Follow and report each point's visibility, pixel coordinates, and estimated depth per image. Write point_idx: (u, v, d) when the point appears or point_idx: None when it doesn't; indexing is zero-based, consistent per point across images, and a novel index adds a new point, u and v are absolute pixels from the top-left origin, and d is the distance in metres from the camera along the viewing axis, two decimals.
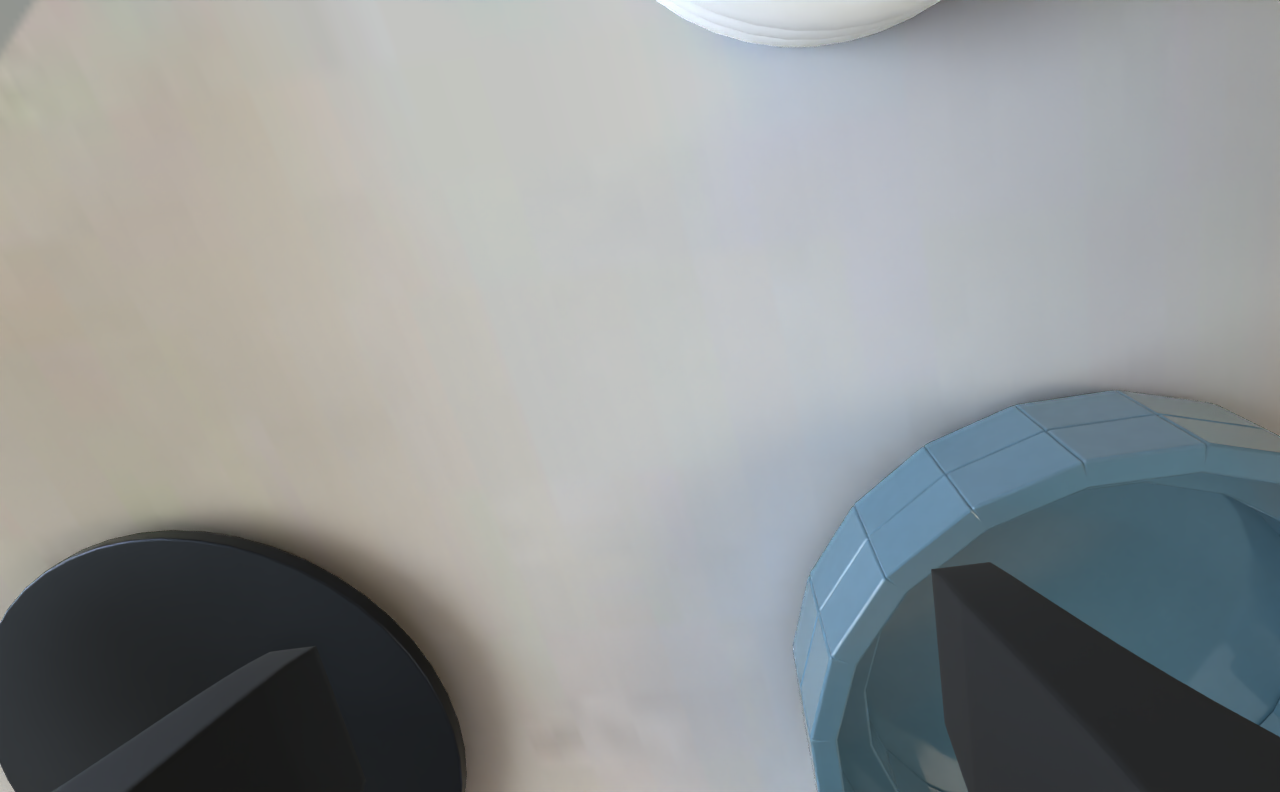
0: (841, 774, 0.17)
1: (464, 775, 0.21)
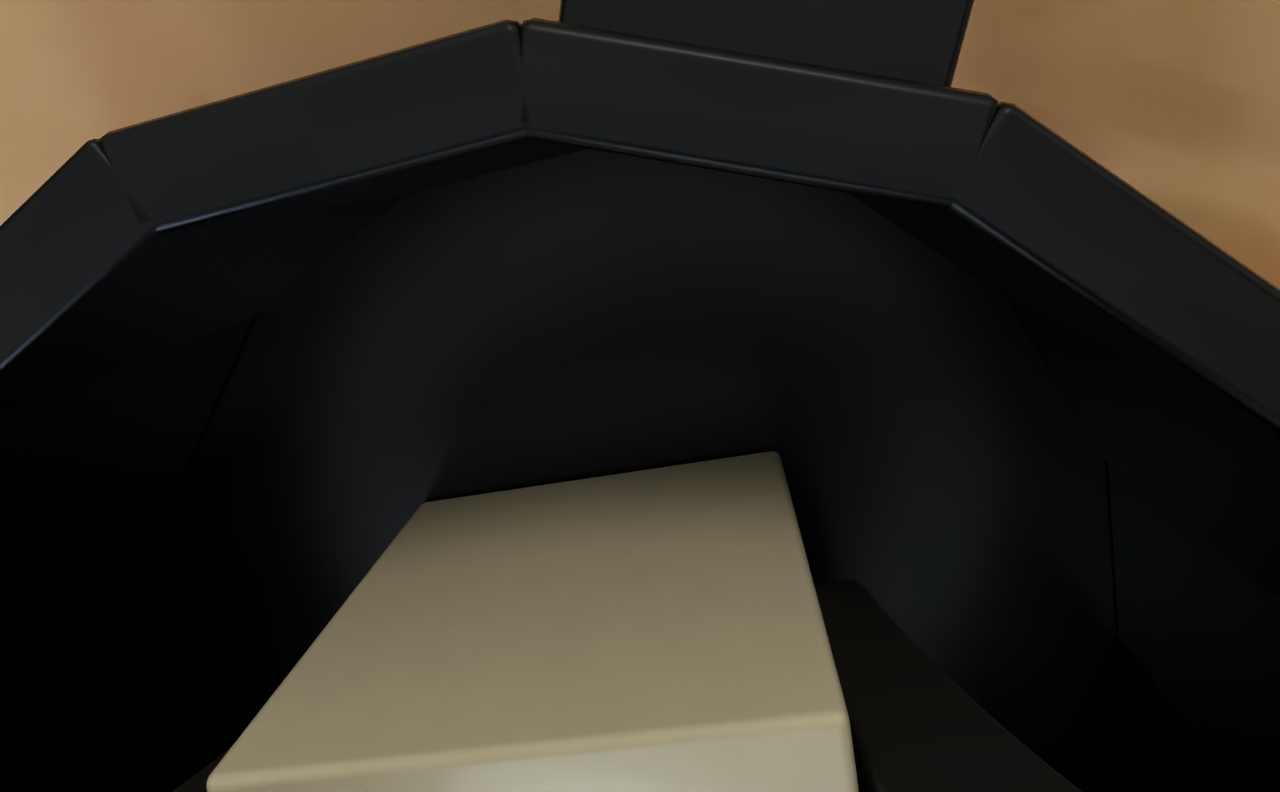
0: None
1: None
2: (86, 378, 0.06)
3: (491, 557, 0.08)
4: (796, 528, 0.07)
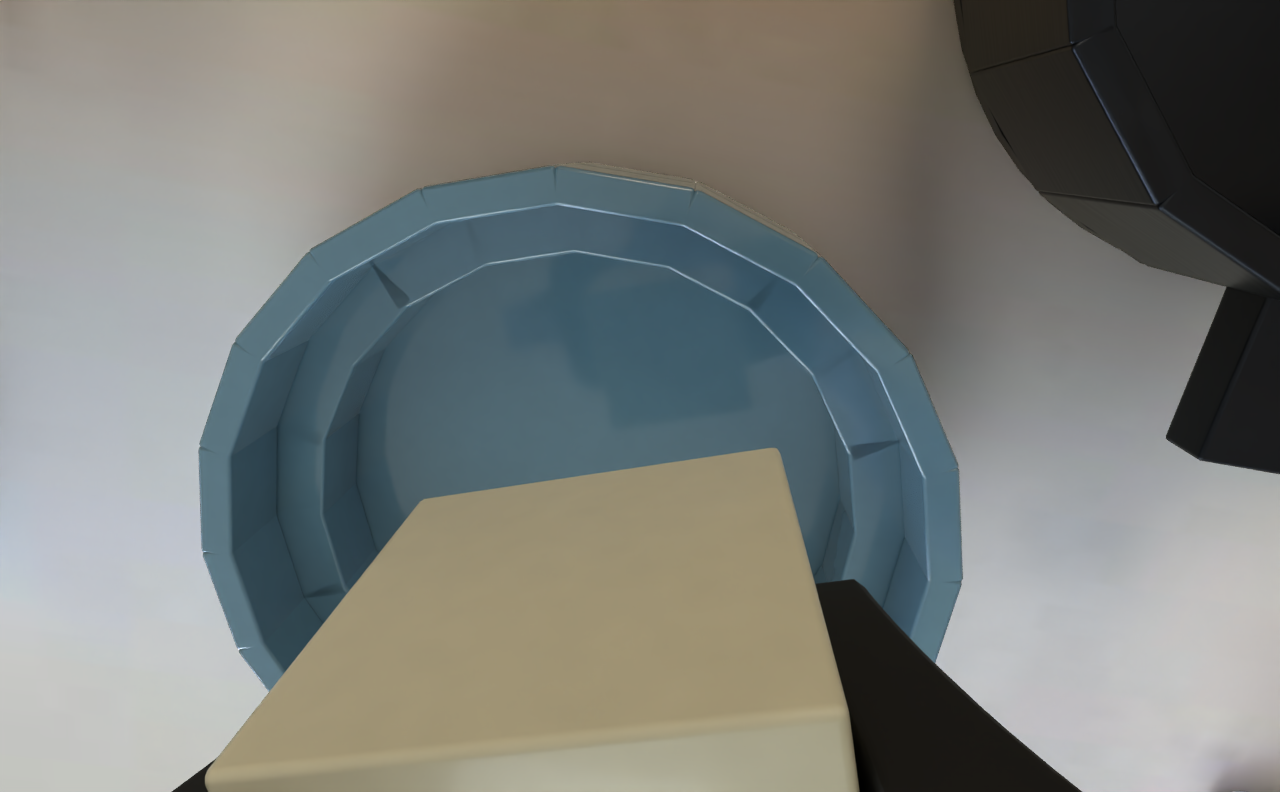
0: None
1: None
2: None
3: (491, 553, 0.08)
4: (796, 523, 0.07)
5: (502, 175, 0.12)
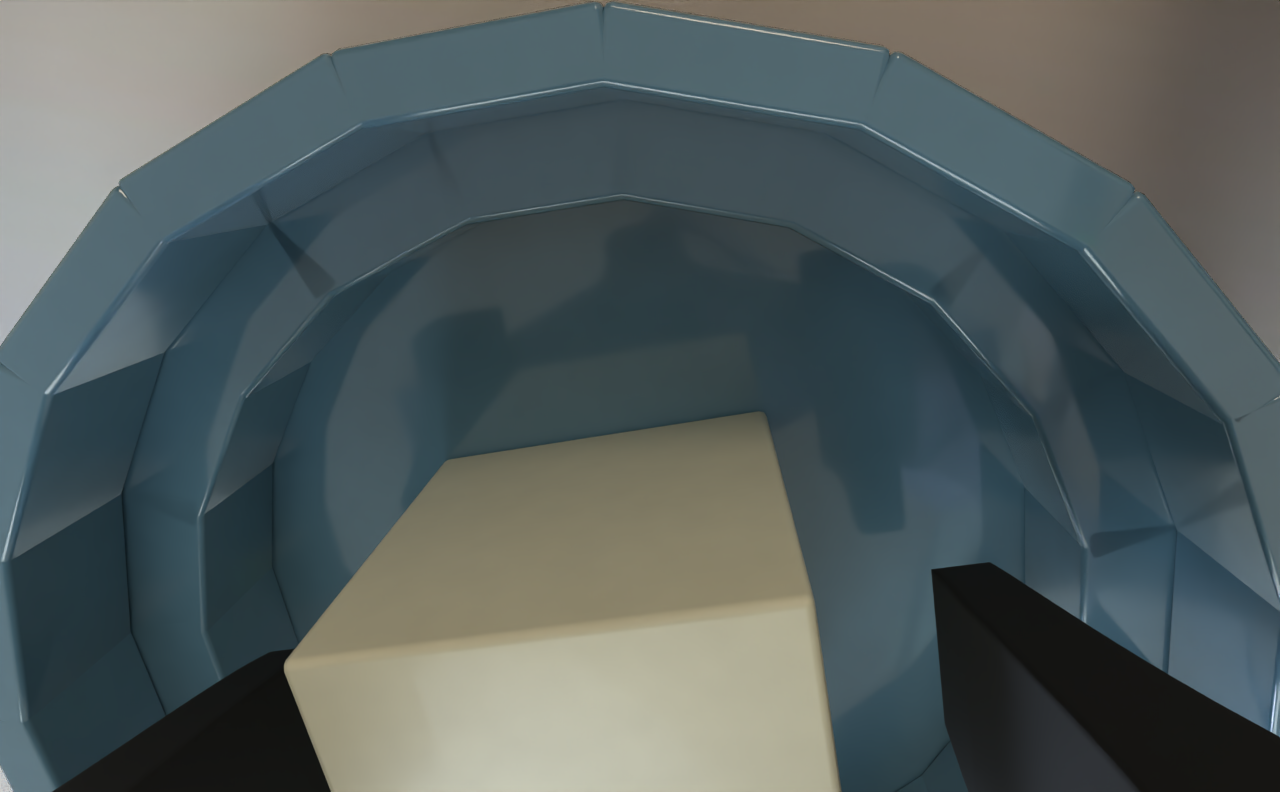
0: None
1: None
2: None
3: (513, 498, 0.09)
4: (778, 469, 0.08)
5: (494, 23, 0.06)
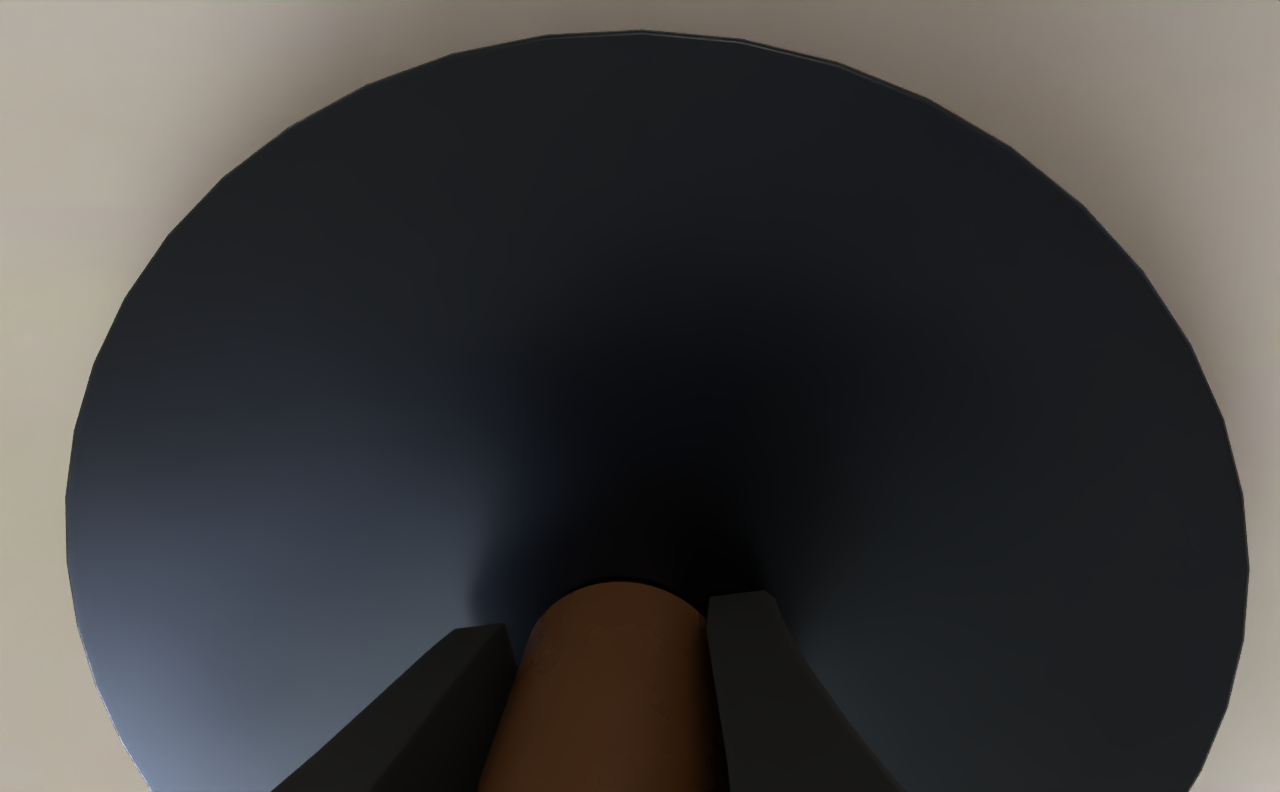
0: None
1: None
2: None
3: None
4: None
5: None
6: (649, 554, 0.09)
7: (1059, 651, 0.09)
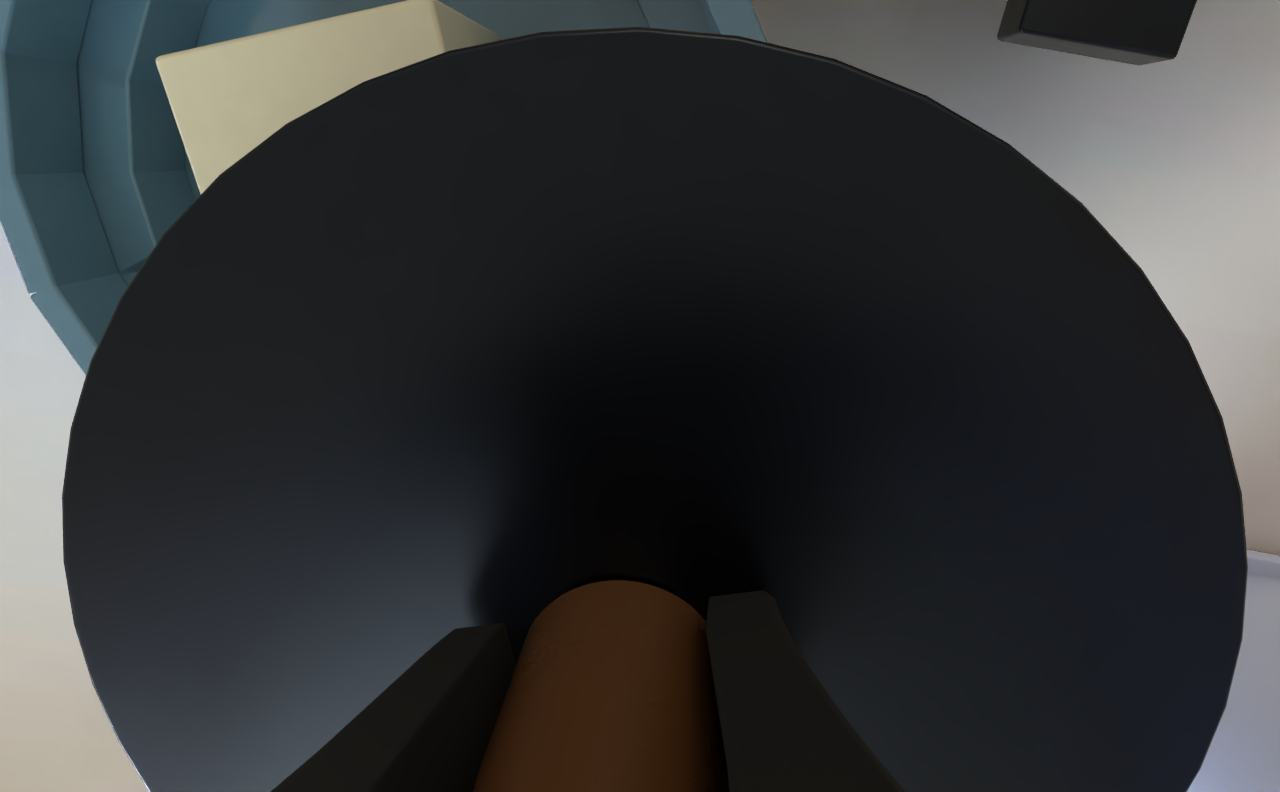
0: None
1: None
2: None
3: None
4: (477, 23, 0.13)
5: None
6: (647, 552, 0.09)
7: (1056, 650, 0.09)
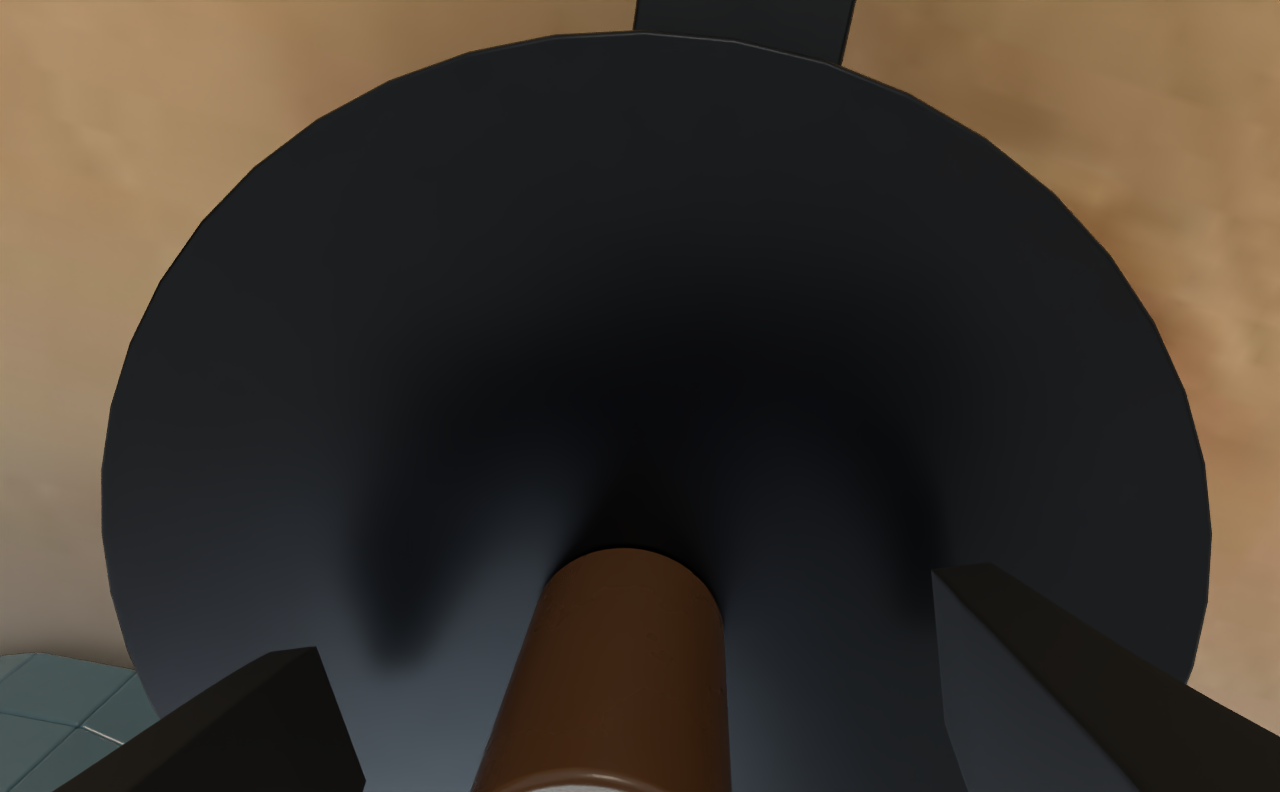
0: None
1: None
2: None
3: None
4: None
5: None
6: (650, 522, 0.09)
7: None
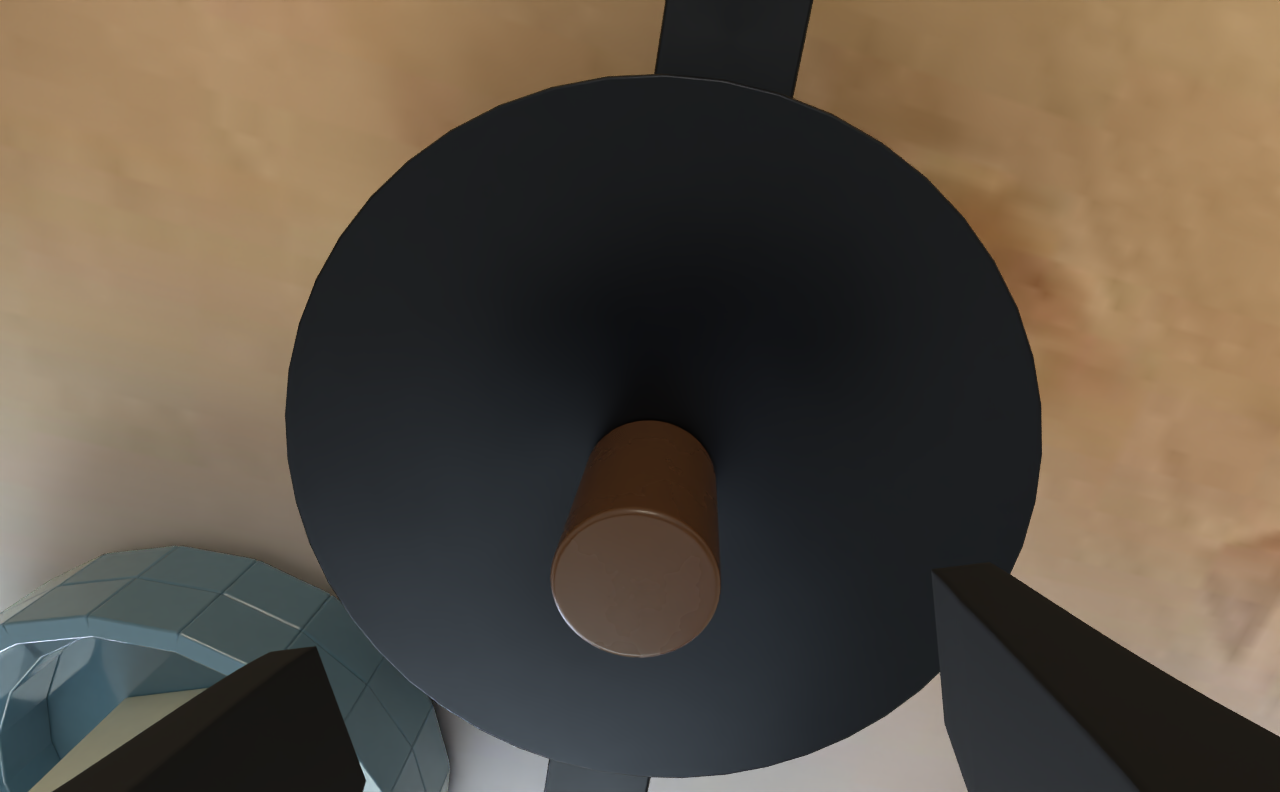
0: None
1: None
2: None
3: (125, 734, 0.20)
4: None
5: (54, 618, 0.17)
6: (666, 402, 0.13)
7: (927, 464, 0.13)
